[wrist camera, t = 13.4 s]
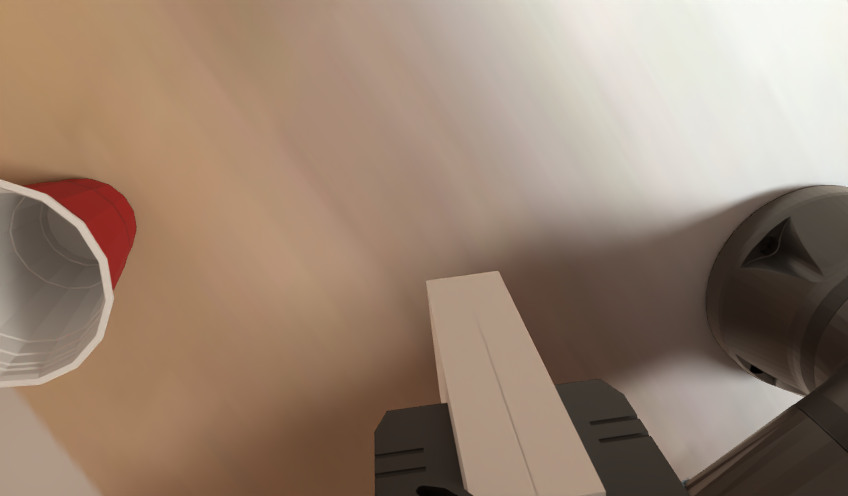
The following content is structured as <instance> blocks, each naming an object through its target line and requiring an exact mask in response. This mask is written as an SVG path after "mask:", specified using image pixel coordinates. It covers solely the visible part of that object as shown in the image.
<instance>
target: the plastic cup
mask: <svg viewBox="0 0 848 496" xmlns="http://www.w3.org/2000/svg"><path fill="white" fill-rule="evenodd" d="M135 234H136V222H135V216H134V211H133V209H132V208H131V206H130V205H129V203H128V201H127V200H126V198H125V197H124V196H123V195H122V194H121V193H119V192H118V191H117V190H115V189H114V188H113V187H112V186H110V185H108V184H105V183H102V182H99V181H96V180H93V179H67V180H62V181H58V182H44V183H37V184H30V185H24V186H20V185H17V184H14V183H11V182H8V181H5V180H1V179H0V387H14V386H28V385H41V384H43V383H45V382H48V381H50V380H52V379H54V378H56V377H58V376H61V375H63V374H65V373H67V372H69V371H71V370H73V369H76V368H78V367H79V365H80V364H81V363H82V362H83V361H84V360H85V359H86V357H87V356H88V355H89V354H90V353H91V352H92V351H93V349H94V348H95V347H96V346H97V345H98V344H99V343H100V341H101V340H102V339H103V337H104V333H105V330H106V326H107V322H108V319H109V315H110V312H111V308H112V304H113V301H114V295H113V290H114V288H115V286H116V284H117V282H118V280H119V277H120V275H121V273H122V271H123V269H124V267H125V264H126V260H127V256H128V254H129V252H130V250H131V248H132V245H133V242H134V238H135Z"/></svg>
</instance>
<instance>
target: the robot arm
mask: <svg viewBox="0 0 848 496" xmlns="http://www.w3.org/2000/svg"><path fill="white" fill-rule="evenodd" d="M426 286H427V294H428V302H429V311H430V319H431V327H432V335H433V343H434V351H435V359H436V367H437V375H438V383H439V392H440V398H441V404H434V405H427V406H420V407H413V408H406V409H399V410H391V411H387V412H386V414H385V415H384V417H383V419H382V420H381V422H380V424H379V425H378V427H377V429H376V430H375V432H374V433H375V496H848V187H844V186H833V185H827V186H815V187H809V188H804V189H800V190H797V191H794V192H791V193H788V194H786V195H783V196H781V197H779V198H777V199H775V200H773V201H772V202H770V203H768V204H766V205H765V206H763V207H762V208H760V209H759V210H758V211H756V212H755V213H754V214H752V215H751V216H750V217H749V218H748V219H747V220H745V221H744V222H743V223H742V224H741V225H740V226H739V227H738V228H737V229H736V231H735V232H734V233H733V234H732V235H731V237H730V238H729V239H728V241H727V242H726V244H725V245H724V247H723V248H722V250H721V252H720V253H719V255H718V257H717V259H716V261H715V264H714V266H713V269H712V271H711V275H710V278H709V282H708V287H707V296H706V309H707V316H708V321H709V325H710V328H711V330H712V333H713V335H714V337H715V339H716V340H717V342H718V343H719V345H720V346H721V348H722V349H723V350H724V351H725V352H726V353H727V354H728V355H729V356H730V357H731V358H732V359H733V360H734V361H735V362H736V363H737V364H738V365H739V366H741V367H742V368H743V369H744V370H745V371H747V372H748V373H749V374H751V375H753V376H754V377H756V378H757V379H759V380H761V381H764V382H766V383H768V384H771V385H774V386H777V387H779V388H782V389H784V390H787V391H790V392H792V393H795V394H798V395H800V396H803V397H804V398H803V399H801V400H800V401H799V402H797V403H796V404H794V405H792V406H791V407H789V408H788V409H787V410H785V411H784V412H783V413H781V414H780V415H778V416H777V417H776V418H774V419H773V420H772V421H770V422H769V423H768V424H766V425H765V426H763V427H762V428H761V429H759V430H758V431H757V432H755V433H754V434H752V435H751V436H750V437H748V438H747V439H746V440H744V441H743V442H742V443H740V444H739V445H737V446H736V447H735V448H733V449H732V450H731V451H729V452H728V453H726V454H725V455H724V456H722V457H721V458H720V459H718V460H717V461H716V462H714V463H713V464H711V465H710V466H709V467H707V468H706V469H705V470H703V471H702V472H700V473H699V474H697V475H696V476H695V477H693V478H692V479H688V478H687V479H685V480H683V481H682V482H681V481H680V480H679V478H678V477H677V475H676V474H675V472H674V471H673V469H672V468H671V466H670V464H669V463H668V461H667V460H666V458H665V457H664V455H663V454H662V452H661V451H660V449H659V448H658V446H657V445H656V443H655V442H654V440H653V439H652V437H651V436H649V435H648V431H647V429H646V428H645V426H644V425H643V423H642V422H641V420H640V419H638V418H637V414H636V413H635V411H634V410H633V408H632V407H631V405H630V404H629V402H628V400H627V399H626V397H625V396H624V394H622V393H621V392H619V391H618V390H616V389H615V388H613V387H611V386H610V385H608V384H607V383H605V382H604V381H602V380H601V379H595V380H588V381H581V382H573V383H566V384H559V385H554V384H553V382H552V380H551V378H550V376H549V374H548V372H547V370H546V368H545V366H544V364H543V362H542V359H541V357H540V355H539V353H538V351H537V349H536V347H535V345H534V343H533V341H532V339H531V337H530V335H529V333H528V331H527V329H526V327H525V325H524V323H523V320H522V318H521V316H520V314H519V312H518V310H517V308H516V306H515V304H514V302H513V300H512V298H511V296H510V294H509V292H508V290H507V288H506V286H505V284H504V281H503V279H502V277H501V275H500V273H499V271H493V272H486V273H479V274H471V275H464V276H457V277H449V278H442V279H434V280H427V281H426Z"/></svg>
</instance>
